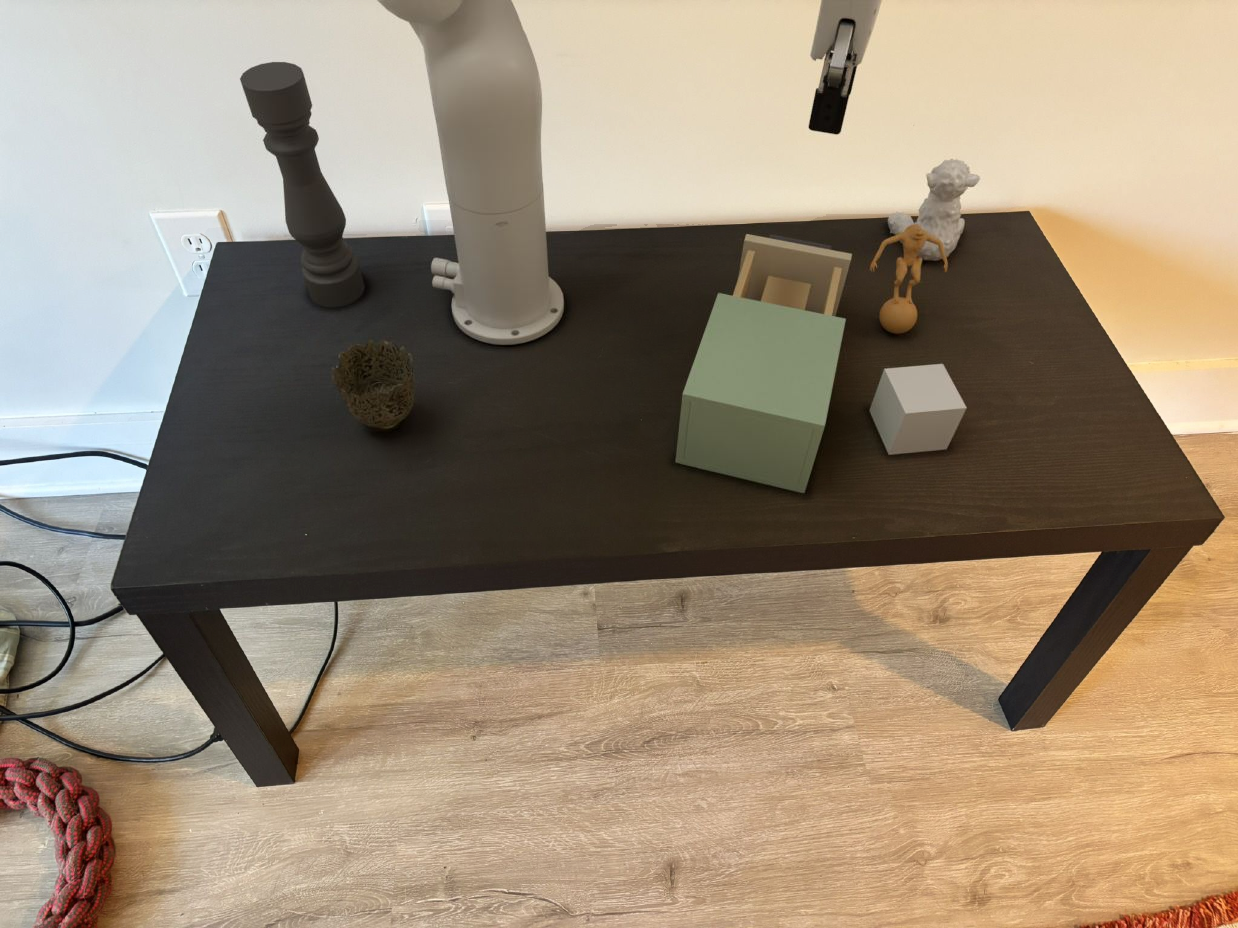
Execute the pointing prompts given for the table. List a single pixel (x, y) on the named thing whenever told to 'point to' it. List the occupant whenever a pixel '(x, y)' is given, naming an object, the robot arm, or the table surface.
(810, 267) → the drawer
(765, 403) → the cabinet
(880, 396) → the white cube
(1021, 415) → the table surface
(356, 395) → the cup
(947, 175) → the white creature statuette
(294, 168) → the candle holder
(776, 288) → the block
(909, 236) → the figurine
